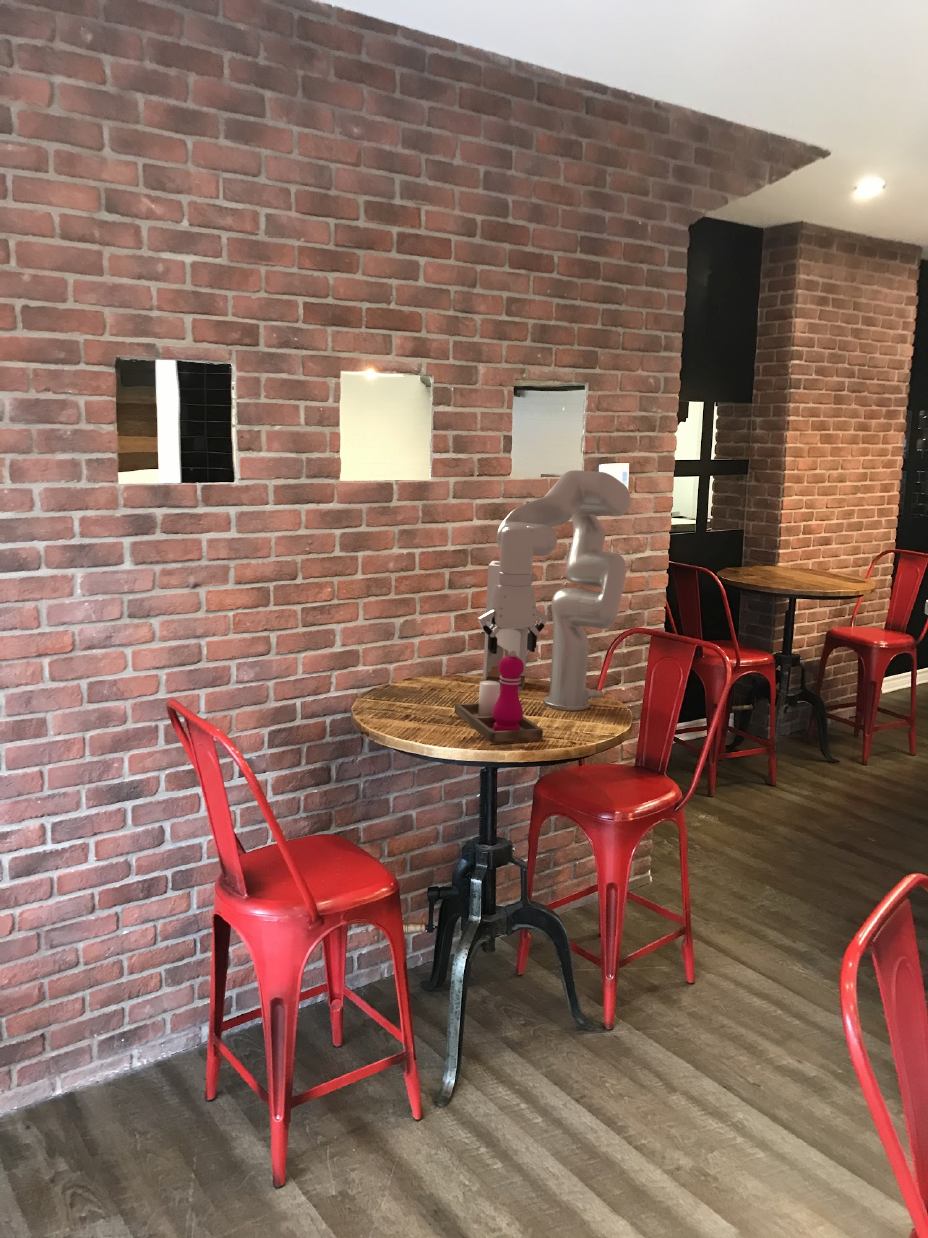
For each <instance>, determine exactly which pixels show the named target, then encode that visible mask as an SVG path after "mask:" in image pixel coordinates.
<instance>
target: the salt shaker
mask: <svg viewBox="0 0 928 1238" xmlns="http://www.w3.org/2000/svg"><path fill="white" fill-rule="evenodd" d="M500 692H501V689H500V683H499V682H495V681H481V680H480V681H479V687H478V703H479V706H478V717H484V716H493V715H492V713H493V708H494V705H495V704H496V702H497V700H498V698H499V695H500Z"/></svg>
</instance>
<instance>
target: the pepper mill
mask: <svg viewBox="0 0 928 1238" xmlns="http://www.w3.org/2000/svg"><path fill="white" fill-rule="evenodd" d="M508 654H509V656H506V657H504V658H502V659H501V660H500V662H499V666H498V669H499V672H500V673H501V676H500V682H501V689H500V692H499V698H498V700H497V702H496V704H495V705H494V708H493V713H492V715H493V718H494V719H495V721H496V722H495V723H494V728H493V731H507V730H520V725H519V724H518V723H519V722H520V721H521V720H522V718H523V716H524V713H523V712H524V711H523V707H522V704H521V701H520V697H519V691H518V686H519V684H520V683H521V681H520V680H521V677H520V675H521V674H522V673H523V671H524V664H523V662H522V660H521V659H519V658H518V657H515V655H516V652H515V651H514V650H510V651H509V653H508Z"/></svg>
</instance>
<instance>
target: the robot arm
mask: <svg viewBox="0 0 928 1238" xmlns="http://www.w3.org/2000/svg"><path fill="white" fill-rule="evenodd" d="M630 505H631V494H630V491H629V488H628V487H627V486H626V484H624V483H623V482H621V481H620V480H619V479H618V478H616V477H614V476H613V475H611V474H610V473H607V472H604V471H595V470H594V471H592V470H577V469H576V470H573V469H572V470H568V471H566V472H565V473H563V474H562V475H561V476H560V477H559V478H558V480H557V481H556V482H555V484H554V485H552V487H551V488H550V489H549V491H548V492H547V493H546V494H545V495H544V496H542V497H540V498H536V499H534V500H532V501H530V502H527V503H525V504H523V505H520V506H518V507H516V508H515V509H513V510H512V511H511V512H510V513H508V514H507V516H506V517H505V518H504V519H503V521H502V522H501V524H500V526H499V527H498V529H497V533H496V543H497V546H498V548H499V549H500V553H499V554H500V555H499V556H500V557H499V561H500V572H499V585H495V589H494V593H493V598H492V604H491V611H490V612H488V613H486V612H485V613H484V614H483V615H481V616H479V617H478V618H477V620H478V623H479V625H480V626H481V629H482V630H483V632H484V633H485V632H486V634H487V635H488V649H489V651H490V652H491V653H493V654H496V653H497V637H496V634H497V633H498V632H499V631H500V629H520V628H528V637H527V651H530V652H531V653H535V651H536V648H537V645H538V644H537V642H538V640H537V639H538V636H539V635H540V633H541V631H542V630H543V629H544V628H545V625H546V624H547V622H548V620H549V616H548V615H547V614H545V613H543V612H541V611H539V610H537V600H536V594H535V593H536V592H535V587H534V585H532V584H533V582H534V581H537V580H538V576H537V574H533V558H534V557H546V556H549V555H550V554H551V553H552V552H553V551H555V549H556V547H557V544H558V543H557V542H558V536H557V535H558V534H557V532H556V531H555V529H554V527H558V526H561V525H564V524H567V523H568V522H569V521H570V520H571V521H572V528H573V533H572V534H573V535H572V539H571V544H570V549H569V552H568V556H567V561H566V567H565V577H566V579H567V581H568V582H569V583H571V584H575V585H579V586H583V587H584V586H585V587H593V588H601V591H596V590H590V589H584V588H583V589H582V588H575V587H565V588H561V589H559V590H557V591H556V592H555V593H554V594H553V596H552V598H551V615H552V627H553V630H552V633H553V634H552V646H551V647H552V649H551V650H552V651H551V663H550V678H549V679H550V680H549V692H548V693H549V694H548V695H546V696H545V697H543V699H542V703H543V705H545V706H546V707H548V708H551V709H555V710H561V711H582V710H587V709H589V708H590V706H591V701H590V700H591V699H592V698H593V699H601V697H602V696H603V695H602V691H601V690H593V689H588V688H586V687H587V686H586V684H587V670H588V660H589V659H588V658H589V657H588V656H589V646H590V645H589V643H590V642H589V638H588V635H587V632H586V631H585V629H584V627H588V628H595V629H602V630H603V629H604V630H606V629H610V628H611V627H613V626H614V624H615V622H616V620H617V617H618V613H619V609H620V604H621V599H622V596H623V590H624V586H625V581H626V576H627V575H626V574H627V566H626V560H625V559H624V557H623V555H620V554H619V553H616V552H610V551H603V549H604V546H605V541H606V532H605V530H604V528H603V525H602V523H601V522H600V519H598V517H597V516H606V517H615V518H616V517H617V518H618V517H621V516H623V515H625V514H626V513H627V512H628V510H629V508H630ZM537 618H538V619H539V621H538V622H537V623H536V621H537ZM489 619H490V623H491V624H492V625H491V627H490V628H489V627H488V626H487V623H486V621H487V620H489Z"/></svg>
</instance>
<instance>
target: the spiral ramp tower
mask: <svg viewBox="0 0 928 1238" xmlns="http://www.w3.org/2000/svg"><path fill="white" fill-rule="evenodd" d="M487 567H488V568H487V582H486V584H487V585H486V603H485V614H486V613H488V612H490V611H491V604H492V598H493V593H494V589H495V585H499V572H500V560H492V561H491V562H490V563H489V564H488V565H487ZM486 623H487V626H488V627H489V628H490V627H491V625H492V624H491V623H490V619H489V620H487V621H486ZM528 633H529V630H528V628H520V629H500V631H499V632H498V633H497V634H496V637H497V653H496V654H493V653H491V652H490V651H489V649H488V635H487V634H486V632H485V631H484V645H483V646H484V648H483V650H484V651H483V664H482V665H483V668H482V670H483V671H482V681H495V682H499V683H500V690H501V682H500V676H501V673H500V672H499V669H498V666H499V662H500V660H501V659H502V658H504V657H506V656H509V654H508V653H509V651H510V650H514V651H515V652H516V655H515V657H518V658H519V659H521V660H522V662H523V664H524V671H523V673H522V674H521V675H520V677H521V680H520V681H521V683H520V684H519V686H518V692H523V688H524V686H525V683H526V668H527V667H526V666H527V653H528V652H527V651H528V649H527V637H528Z"/></svg>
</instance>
